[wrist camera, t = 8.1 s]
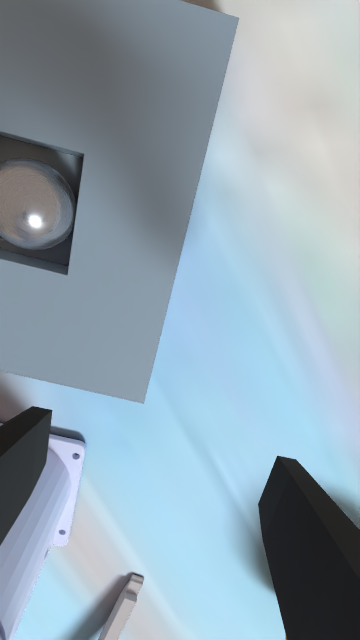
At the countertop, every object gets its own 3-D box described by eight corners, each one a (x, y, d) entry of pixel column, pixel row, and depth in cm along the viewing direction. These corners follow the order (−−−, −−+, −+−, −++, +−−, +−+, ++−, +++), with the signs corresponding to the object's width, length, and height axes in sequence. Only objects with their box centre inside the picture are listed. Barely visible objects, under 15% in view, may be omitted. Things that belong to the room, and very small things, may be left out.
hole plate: (148, 385, 20) (143, 403, 18) (-113, 325, 19) (-147, 337, 17) (232, 44, 14) (238, 17, 12) (-130, -63, 13) (-183, -110, 11)
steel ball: (60, 249, 18) (75, 266, 15) (-23, 231, 16) (-27, 246, 13) (74, 176, 17) (93, 177, 14) (-13, 146, 15) (-15, 138, 11)
